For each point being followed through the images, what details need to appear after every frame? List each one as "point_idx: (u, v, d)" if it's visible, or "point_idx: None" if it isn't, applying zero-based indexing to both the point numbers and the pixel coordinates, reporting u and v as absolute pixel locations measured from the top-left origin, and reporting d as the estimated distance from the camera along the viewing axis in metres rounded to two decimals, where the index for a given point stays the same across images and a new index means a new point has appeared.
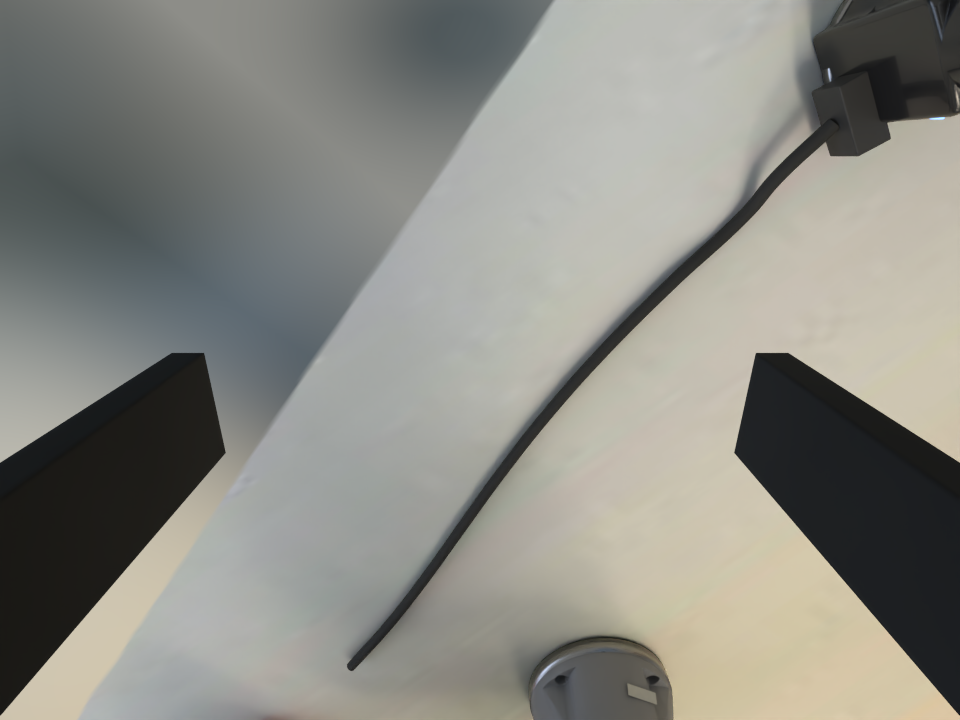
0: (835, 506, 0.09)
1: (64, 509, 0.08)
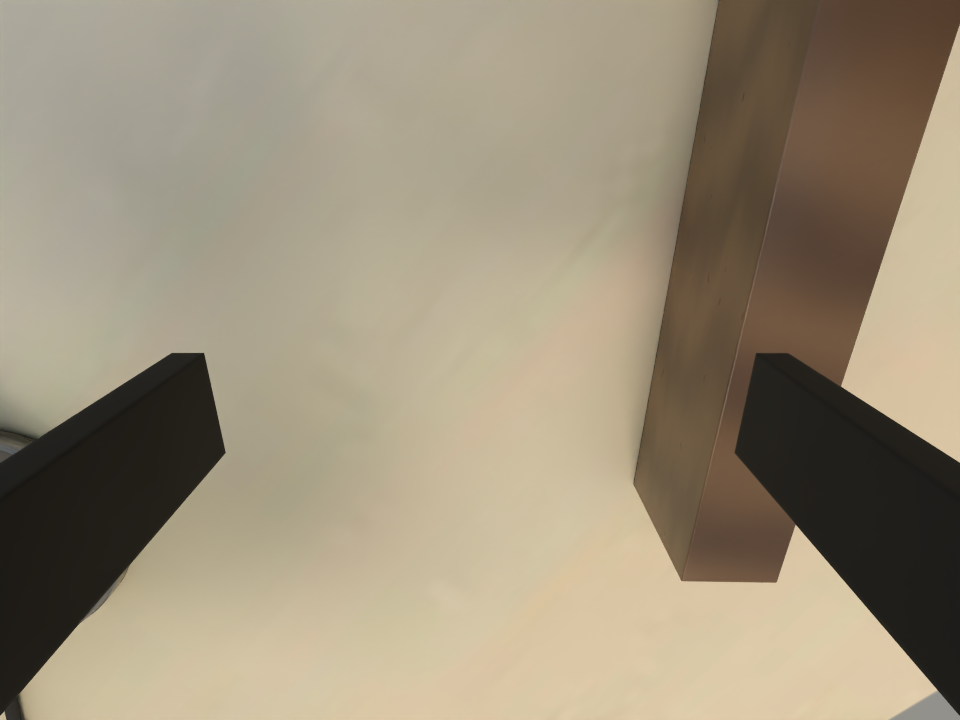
0: (835, 506, 0.09)
1: (64, 509, 0.08)
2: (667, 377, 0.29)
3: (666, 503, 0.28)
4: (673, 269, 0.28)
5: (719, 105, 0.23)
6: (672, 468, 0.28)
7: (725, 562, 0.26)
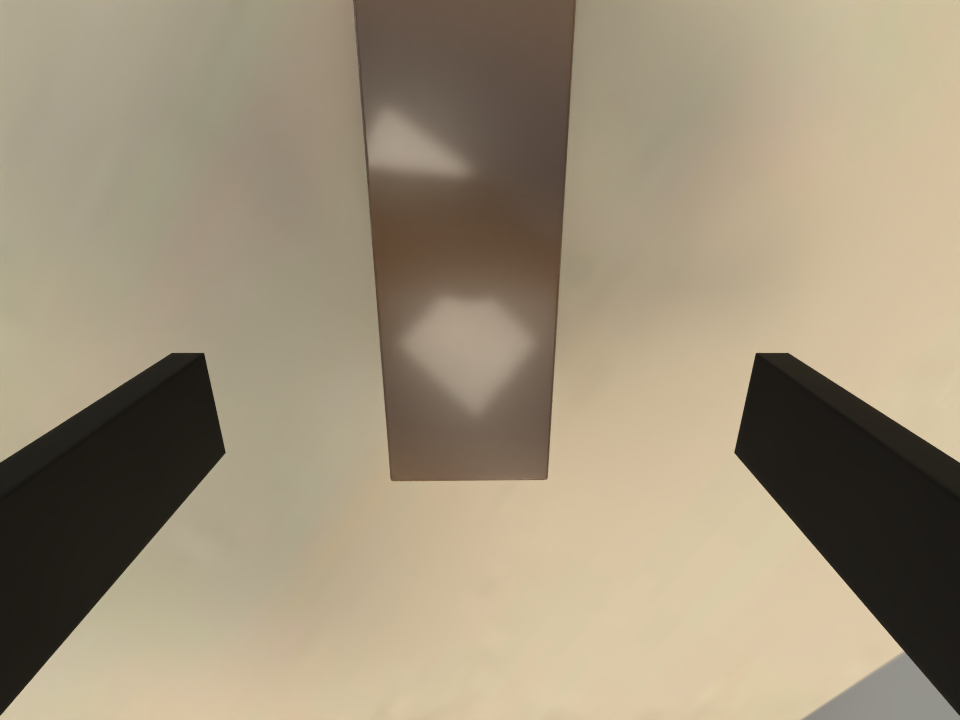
0: (835, 506, 0.09)
1: (64, 509, 0.08)
2: None
3: None
4: None
5: None
6: None
7: (453, 446, 0.16)
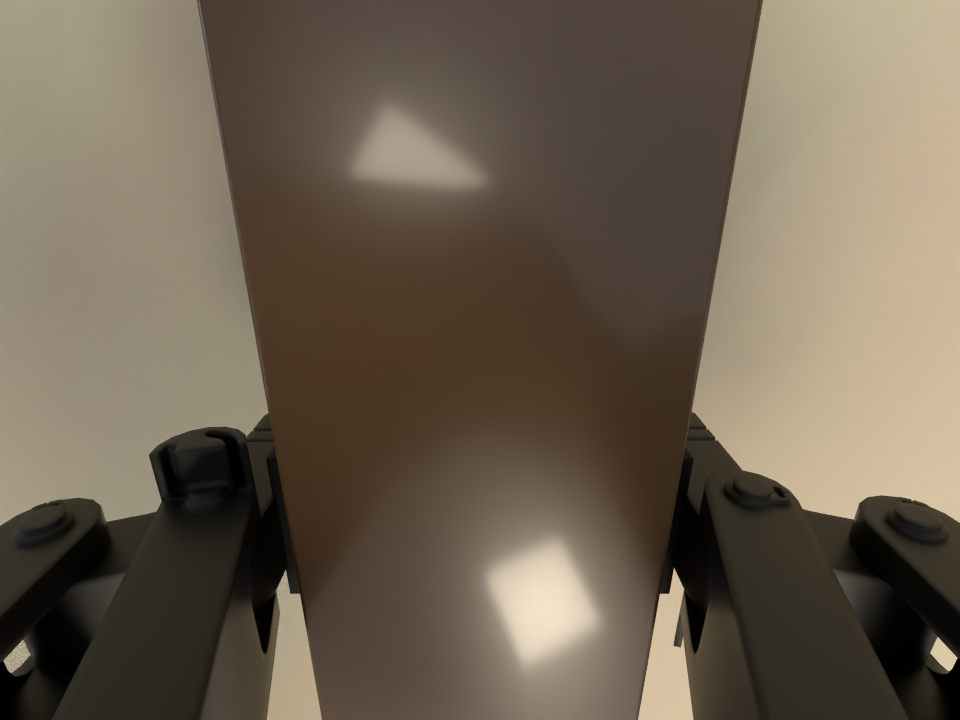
0: None
1: None
2: None
3: None
4: None
5: None
6: None
7: None
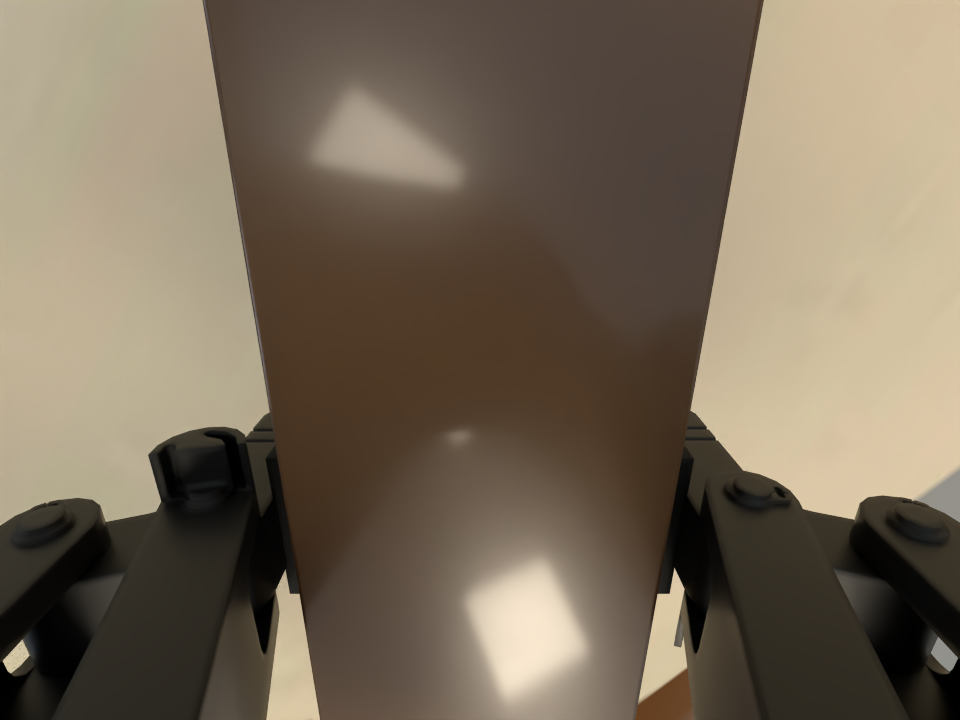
0: None
1: None
2: None
3: None
4: None
5: None
6: None
7: None
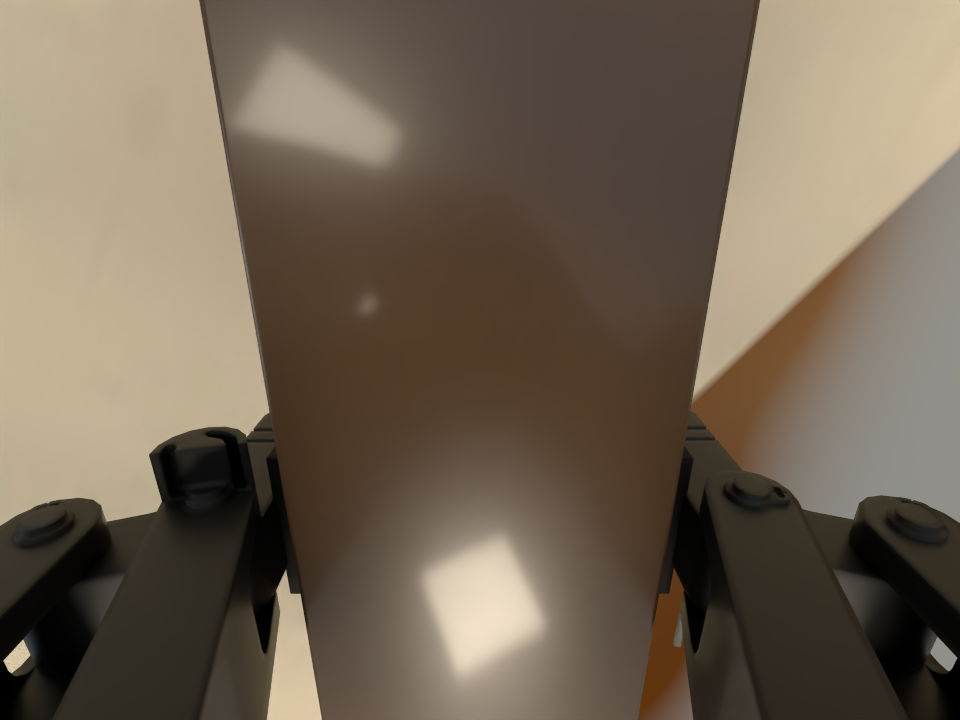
0: None
1: None
2: None
3: None
4: None
5: None
6: None
7: None
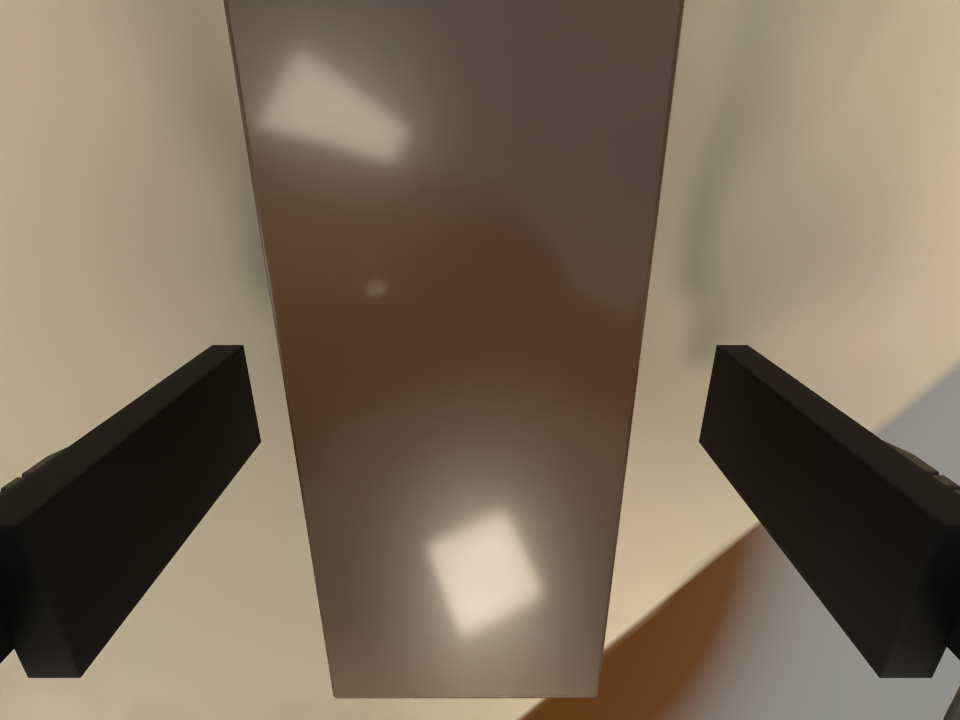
0: (781, 488, 0.10)
1: (129, 489, 0.08)
2: None
3: None
4: None
5: None
6: None
7: (437, 651, 0.09)
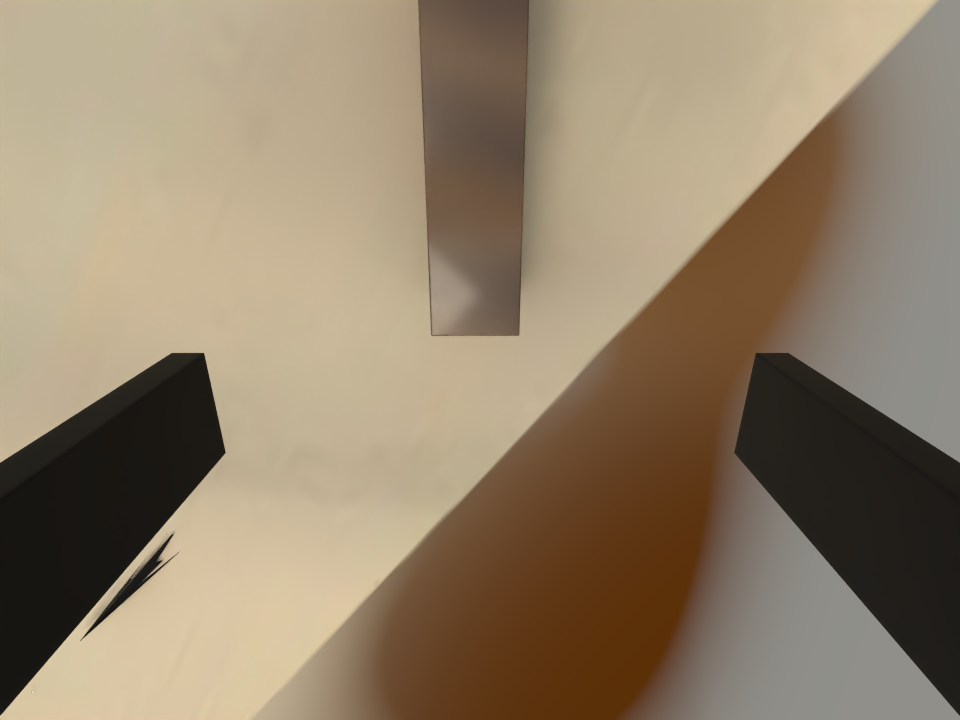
0: (835, 506, 0.09)
1: (64, 509, 0.08)
2: None
3: None
4: None
5: None
6: None
7: (466, 314, 0.28)
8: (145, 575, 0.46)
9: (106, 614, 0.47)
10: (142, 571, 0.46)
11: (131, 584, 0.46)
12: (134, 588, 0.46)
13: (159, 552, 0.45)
